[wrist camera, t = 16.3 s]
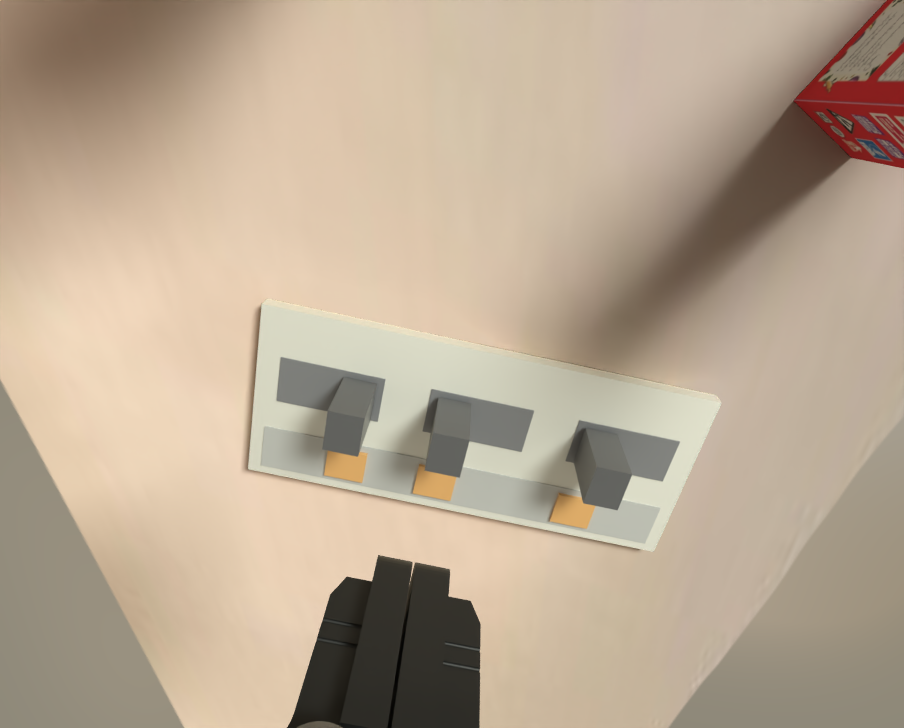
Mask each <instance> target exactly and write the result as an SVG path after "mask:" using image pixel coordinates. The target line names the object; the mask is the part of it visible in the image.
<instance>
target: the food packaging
mask: <svg viewBox="0 0 904 728" xmlns="http://www.w3.org/2000/svg"><path fill="white" fill-rule="evenodd" d="M794 102H795V103H796V104H797V105H798V106H799V107H800V108H801V109H802V110H803V111H804V112H805V113H807V114H808V115H809V116H810V117H811V118H812V119H813V120H814V121H815V122H816V123H817V124H818V125H819V126H820V127H821V128H822V129H823V130H824V131H825V132H826V133H827V134H828V135H829V136H830V137H831V138H832V139H833V140H834V141H835V142H836V143H837V144H838V145H839V146H840V147H841V148H842V149H843V150H844V151H845V152H846V153H847V154H848V155H849V156H850V157H851V158H855V159H860V160H865V161H870V162H875V163H880V164H885V165H890V166H895V167H900V168H904V0H887V1H886V2H885V3H884V4H883V5H882V6H881V7H880V9H879V10H878V11H877V12H876V13H875V14H874V15H873V16H872V17H871V18H870V19H869V20H868V21H867V22H866V24H865V25H864V26H863V27H862V28H861V29H860V30H859V31H858V32H857V33H856V34H855V35H854V36H853V37H852V39H851V40H850V41H849V42H848V43H847V44H846V45H845V46H844V47H843V48H842V49H841V50H840V51H839V52H838V54H837V55H836V56H835V57H834V58H833V59H832V60H831V61H830V62H829V63H828V64H827V65H826V66H825V67H824V69H823V70H822V71H821V72H820V73H819V74H818V75H817V76H816V77H815V78H814V79H813V80H812V81H811V82H810V84H809V85H808V86H807V87H806V88H805V89H804V90H803V91H802V92H801V93H800V94H799V95H798V96H797V97H796V99H795V100H794Z"/></svg>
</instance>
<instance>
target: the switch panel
mask: <svg viewBox="0 0 904 728" xmlns="http://www.w3.org/2000/svg"><path fill="white" fill-rule="evenodd" d="M344 377H348V378H353V379H358V380H362V381H367V382H372V383H376V384H377V388H376V394H375V399H374V405H373V410H372V416H371V420H370V423H369V426H368V429H367V432H366V435H365V438H364V441H363V444H362V447H361V449H360V452H359V455H358V457H356V456H351V455H347V454H342V453H337V452H332V451H327V450H322V447H323V440H324V433H325V426H326V419H327V412H328V409H329V407H330V405H331V403H332V401H333V399H334V397H335V395H336V393H337V391H338V389H339V386H340V384H341V382H342V380H343V378H344ZM439 397H443V398H447V399H452V400H457V401H462V402H466V403H471V422H470V441H469V445H468V448H467V452H466V456H465V460H464V464H463V468H462V471H461V475H460V478H458V477H453V476H448V475H443V474H439V473H434V472H429V471H425V464H426V458H427V452H428V446H429V440H430V433H431V428H432V424H433V420H434V415H435V411H436V407H437V402H438V398H439ZM720 405H721V401H720V400H719V399H718V397H717V396H716V395H713V394H709V393H704V392H700V391H695V390H690V389H686V388H681V387H676V386H672V385H667V384H662V383H658V382H653V381H648V380H644V379H639V378H635V377H630V376H625V375H621V374H616V373H611V372H607V371H602V370H597V369H593V368H588V367H584V366H579V365H574V364H570V363H565V362H560V361H556V360H551V359H546V358H542V357H537V356H533V355H528V354H523V353H519V352H514V351H509V350H505V349H500V348H495V347H491V346H486V345H482V344H477V343H472V342H468V341H463V340H458V339H454V338H449V337H444V336H440V335H435V334H431V333H426V332H421V331H417V330H412V329H407V328H403V327H398V326H393V325H389V324H384V323H379V322H375V321H370V320H366V319H361V318H356V317H352V316H347V315H342V314H338V313H333V312H328V311H324V310H319V309H315V308H310V307H305V306H301V305H296V304H291V303H287V302H282V301H277V300H273V299H268V298H267V299H266V300H265V301H264V302H263V303H262V306H261V318H260V330H259V342H258V355H257V367H256V379H255V391H254V403H253V415H252V427H251V440H250V452H249V464H248V469H249V470H254V471H259V472H264V473H269V474H274V475H279V476H284V477H289V478H294V479H298V480H303V481H308V482H313V483H318V484H323V485H328V486H333V487H338V488H343V489H348V490H352V491H357V492H362V493H367V494H372V495H377V496H382V497H387V498H392V499H397V500H401V501H406V502H411V503H416V504H421V505H426V506H431V507H436V508H441V509H446V510H451V511H455V512H460V513H465V514H470V515H475V516H480V517H485V518H490V519H495V520H500V521H504V522H509V523H514V524H519V525H524V526H529V527H534V528H539V529H544V530H549V531H554V532H558V533H563V534H568V535H573V536H578V537H583V538H588V539H593V540H598V541H603V542H607V543H612V544H617V545H622V546H627V547H632V548H637V549H642V550H647V551H652V552H654V550H655V548H656V546H657V543H658V541H659V539H660V537H661V535H662V533H663V530H664V528H665V526H666V524H667V522H668V519H669V517H670V515H671V513H672V511H673V508H674V506H675V504H676V502H677V500H678V497H679V495H680V493H681V491H682V489H683V486H684V484H685V482H686V480H687V478H688V475H689V473H690V471H691V469H692V467H693V465H694V462H695V460H696V458H697V456H698V454H699V451H700V449H701V447H702V445H703V443H704V440H705V438H706V436H707V434H708V432H709V429H710V427H711V425H712V423H713V421H714V418H715V416H716V414H717V412H718V410H719V407H720ZM585 428H589V429H594V430H599V431H603V432H608V433H613V434H617V435H618V437H619V440H620V443H621V445H622V448H623V451H624V453H625V456H626V459H627V461H628V464H629V467H630V469H631V472H632V477H631V479H630V481H629V484H628V486H627V489H626V491H625V494H624V496H623V499H622V501H621V504H620V506H619V508H618V510H613V509H608V508H604V507H599V506H594V505H589V504H584V503H583V500H582V496H581V492H580V487H579V483H578V479H577V474H576V470H575V466H574V459H575V456H576V453H577V450H578V448H579V445H580V442H581V439H582V436H583V433H584V431H585Z"/></svg>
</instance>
